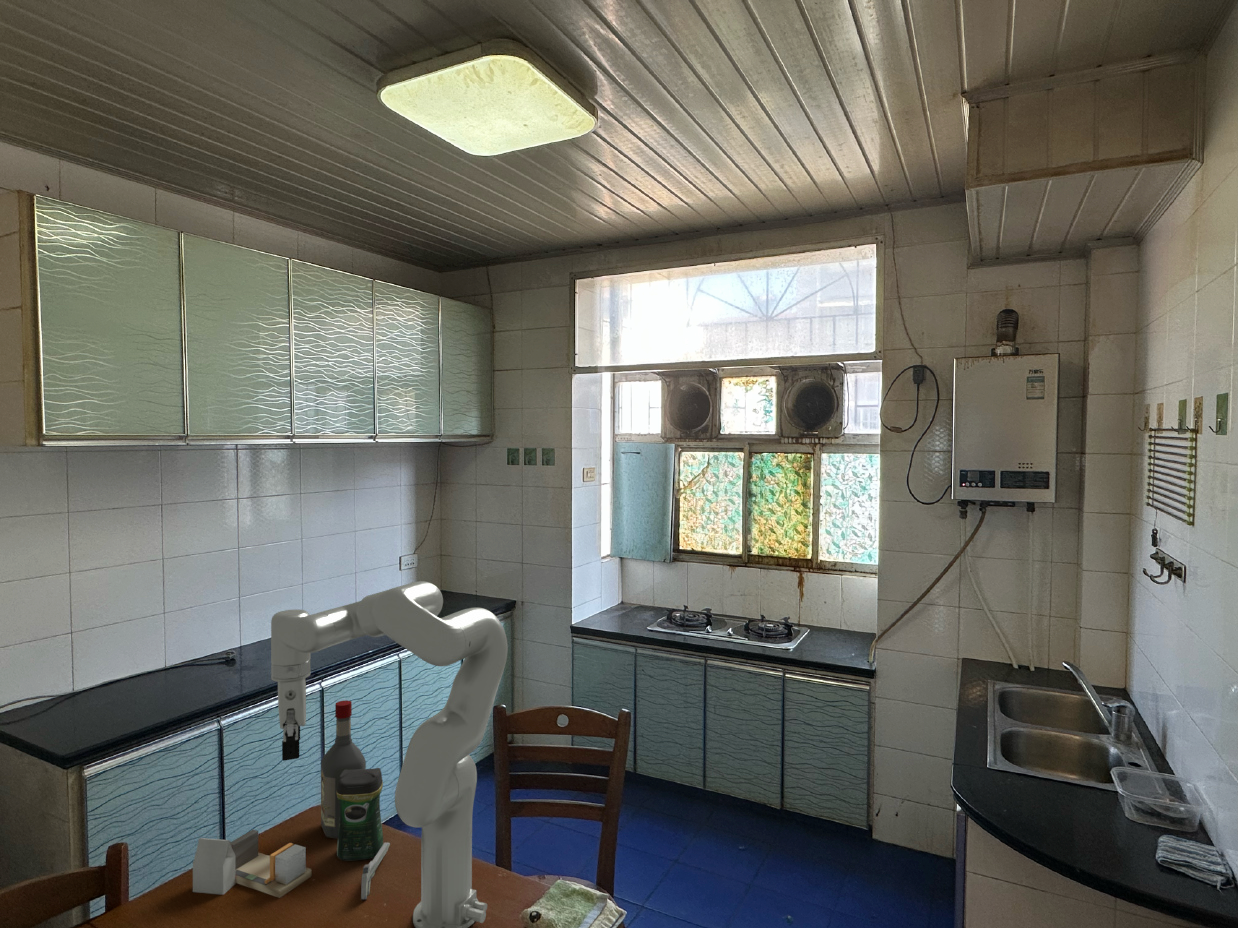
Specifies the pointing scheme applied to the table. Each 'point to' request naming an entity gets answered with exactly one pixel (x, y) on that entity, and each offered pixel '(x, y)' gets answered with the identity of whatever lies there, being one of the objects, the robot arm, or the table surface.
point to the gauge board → (259, 867)
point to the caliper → (372, 870)
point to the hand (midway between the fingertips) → (291, 749)
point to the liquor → (338, 768)
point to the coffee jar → (359, 814)
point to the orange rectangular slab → (272, 861)
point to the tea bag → (213, 866)
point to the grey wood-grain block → (290, 864)
